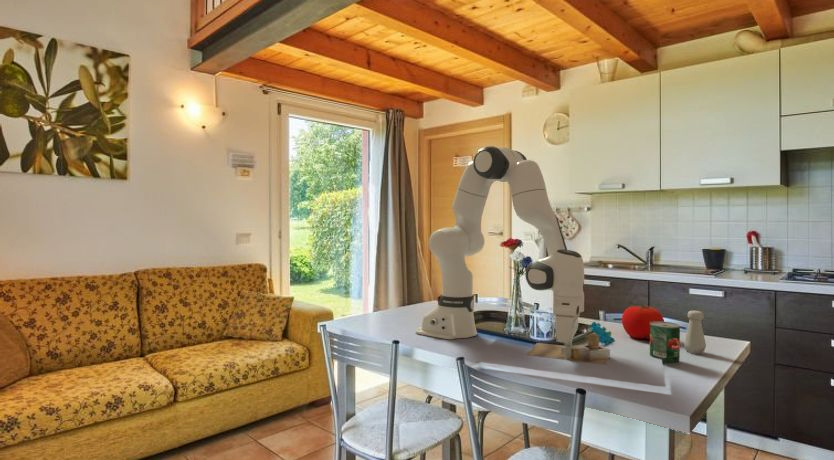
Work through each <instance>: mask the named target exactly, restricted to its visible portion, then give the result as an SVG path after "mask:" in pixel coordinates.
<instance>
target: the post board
mask: <svg viewBox="0 0 834 460" xmlns="http://www.w3.org/2000/svg"><path fill="white" fill-rule="evenodd" d="M587 345H588V348H589V349H591V350H593V349H599V345H600V341H599V335H597V334H595V333H589V334H587ZM561 346H563V345H560V344H554V343H553V344H552V343H551V344H550V343H543V342H536V343H535V344H534V346H532V348H531V349H530V350H529V352H527V354H526V356H533V357H539V358H548V359H550V358H551V359H557V360H564V361H565V360H566V361H573V362H582V363H588V364H589V363H590V364H597V365H607V362H608V358H605V359H592V360H590V359H588V358H579V349H573V359H565V358H563V357H561Z"/></svg>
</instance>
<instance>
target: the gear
mask: <svg viewBox="0 0 834 460" xmlns="http://www.w3.org/2000/svg"><path fill="white" fill-rule="evenodd" d="M589 326H590V331H591V332H593V334H597V335H599V343H600V344H604V345H605V346H610V344H612V343H614V342H615V338H614V337H612V331H610V330H609V331H607V329H606V327H605V326H603V327H601V326H602V325H601V324H600V323H599V322H596V321H592V322H591V324H590V325H589Z"/></svg>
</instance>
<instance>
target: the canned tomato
mask: <svg viewBox="0 0 834 460" xmlns="http://www.w3.org/2000/svg"><path fill="white" fill-rule="evenodd" d="M680 338H681V325H680V324H678V323H675V322H670V321H664V322H663V321H654V322H650V338H649V356H650V357H652V358H655V359H659V360H661V362H662V363H661V364H662V365H666V366H676V365H680V363H681V362H680V357H681V356H680V355H681V353H680V352H681V351H680V349H681V348H680V347H681V346H680V345H681V339H680Z"/></svg>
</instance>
